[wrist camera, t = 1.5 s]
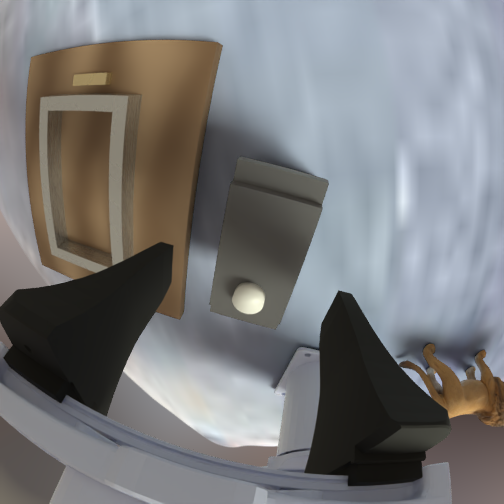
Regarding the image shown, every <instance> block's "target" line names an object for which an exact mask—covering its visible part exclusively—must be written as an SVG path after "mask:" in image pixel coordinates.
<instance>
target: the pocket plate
mask: <svg viewBox="0 0 504 504" xmlns="http://www.w3.org/2000/svg"><path fill="white" fill-rule="evenodd" d="M222 47H223V45H221V44H219V43H218V42H206V41H190V40H139V41H123V42H112V43H102V44H94V45H87V46H81V47H75V48H69V49H64V50H59V51H54V52H50V53H46V54H42V55H38V56H34V57H31V62H30V69H29V77H28V87H27V101H26V163H27V177H28V187H29V196H30V204H31V211H32V217H33V223H34V229H35V234H36V239H37V244H38V249H39V253H40V257H41V262H42V265H44V266H46V267H48V268H50V269H53V270H55V271H57V272H59V273H61V274H63V275H66V276H68V277H70V278H72V279H79V278H82V277H85V276H88V275H91V274H94V273H97V272H99V271H102V270H104V269H106V268H109V267H111V266H113V265H115V264H117V263H119V262H121V261H124V260H126V259H128V258H130V257H132V256H134V255H135V254H137V253H139V252H141V251H143V250H145V249H147V248H149V247H151V246H153V245H155V244H157V243H159V242H164V243H167V244H171V245H174V247H173V264H172V283H171V285H170V287H169V289H168V291H167V293H166V295H165V297H164V299H163V301H162V303H161V304H160V306H159V307H158V309H157V310H156V312H158V313H161V314H164V315H167V316H170V317H173V318H176V319H179V320H180V318H181V316H182V314H183V312H184V301H185V288H186V276H187V265H188V255H189V245H190V236H191V227H192V218H193V210H194V202H195V195H196V187H197V180H198V173H199V167H200V160H201V154H202V148H203V142H204V136H205V130H206V124H207V119H208V113H209V108H210V103H211V98H212V92H213V88H214V83H215V78H216V73H217V69H218V64H219V60H220V55H221V51H222Z"/></svg>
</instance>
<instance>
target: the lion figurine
mask: <svg viewBox="0 0 504 504" xmlns="http://www.w3.org/2000/svg"><path fill="white" fill-rule="evenodd" d="M434 353H435V346H434V344H428V345H426V347H425V348H424V349H423V356H424V358H425V359H426V361H427V363H428V365H429V366H430V367H429V368H428V369H427V371H426V372H427V375H426V374H425V372H424V371H423V370H422V369H421V368H420V367H419V366H417V365H415V364H414V363H412V362H410V361H403V362H401V363H400V364H399V366H400V367H403V368H409V369H413V370H415V371H416V372H417V373H418V374H419V375H420V376H421V378H422V380H423V381H424V383H425V385H426V387H427V389H428V390H429V393H430V395H431V397H432V399H433V400H435V401H436V402H437V403H439V404H440V405H441V406H443V407H444V408H445V409H447V411H448V415H449V418H452V417H455V416H458V415H462V414H475V415H477V416H478V418H479V420H480V421H482V422H483V423H485V424H487V425H491V426H496V427H504V382H502V381H501V379H500V378H499V377H493V375H492V373H491V371H490V369H489V367H488V366H487V365H486V364H485V362H484V361H483V358H484V357H485V355H486V352H485V350H482V351H480V352H479V353H478V354H477V355H476V356H475V362H476V364H477V366H478V367H479V369H480V372H481V380H480V381H479V380H476V378H475V367H470V368H468V369H467V370H466V376H467V379H468V380H463V381H461V382H460V381H459V379H458V377H457V376H456V375H455V373H454V372H453V371H452V370H451V368H449V367H448V366H447V365H445V364H444V363H442V362H441V361H439V360H438V359H437V358H436V357H434V356H433V354H434ZM436 372H437V373H438V375H439V376H440V378H441V380H442V387H441V385H440V384H439V383H438V382H437V380H436V378H435V375H434V374H435V373H436Z"/></svg>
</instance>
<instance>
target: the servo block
mask: <svg viewBox="0 0 504 504" xmlns="http://www.w3.org/2000/svg"><path fill="white" fill-rule="evenodd" d="M328 185H329V183H328V180H326V179H323V178H320V177H317V176H313V175H310V174H306V173H303V172H299V171H296V170H292V169H289V168H285V167H281V166H278V165H274V164H270V163H266V162H262V161H258V160H254V159H250V158H246V157H241V156H240V157H239V158H238V159H237V164H236V169H235V174H234V179H233V181H232V182H231V184H230V188H229V194H228V199H227V204H226V210H225V215H224V221H223V226H222V232H221V238H220V243H219V249H218V255H217V261H216V267H215V273H214V279H213V285H212V292H211V298H210V304H209V305H211V308H210V311H211V312H214V313H218V314H221V315H224V316H228V317H231V318H235V319H238V320H242V321H245V322H249V323H253V324H256V325H260V326H264V327H268V328H272V329H275V330H276V328H277V325H278V324H280V322H281V319H282V317H283V314H284V312H285V309H286V307H287V304H288V302H289V299H290V297H291V294H292V292H293V289H294V286H295V284H296V281H297V278H298V276H299V273H300V271H301V268H302V265H303V262H304V260H305V257H306V254H307V252H308V249H309V246H310V243H311V240H312V238H313V235H314V232H315V229H316V226H317V223H318V221H319V218H320V215H321V212H322V203H323V200H324V197H325V194H326V191H327V188H328Z"/></svg>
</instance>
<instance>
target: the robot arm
mask: <svg viewBox="0 0 504 504" xmlns="http://www.w3.org/2000/svg"><path fill="white" fill-rule="evenodd" d="M173 247H174V245H171V244H167V243H164V242H159V243H157V244H155V245H153V246H151V247H149V248H147V249H145V250H143V251H141V252H139V253H137V254H135V255H134V256H132V257H130V258H128V259H126V260H124V261H121V262H119V263H117V264H115V265H113V266H111V267H109V268H106V269H104V270H102V271H99V272H97V273H94V274H91V275H88V276H85V277H82V278H79V279H75V280H72V281H68V282H65V283H61V284H56V285H51V286H45V287H39V288H30V289H19V290H16V291H15V292H14V293H13V294H12V295H11V296H10V297H9V298H8V299H7V301H5V302H4V304H3V305H2V306H1V307H0V322H1V324H2V326H3V328H4V330H5V332H6V334H7V335H8V337H9V339H10V341H11V343H12V344H13V346H12V347H11V348H10V349H8V348H7V347H6V346H5V345H4V344H3V343H2V342H1V341H0V416H1V417H2V418H4V419H5V420H6V421H7V422H8V423H9V424H10V425H12V426H13V427H14V428H15V429H16V430H17V431H19V432H20V433H21V434H22V435H24V436H25V437H26V438H27V439H29V440H30V441H32V442H33V443H34V444H35V445H37V446H38V447H39V448H41V449H42V450H44V451H45V452H46V453H48V454H49V455H51V456H52V457H54V458H55V459H57V460H58V461H60V462H61V463H63V464H64V465H66V468H65V470H64V472H63V474H62V476H61V478H60V481H59V483H58V485H57V487H56V490H55V492H54V494H53V496H52V499H51V501H50V503H49V504H452V498H451V497H452V496H451V482H450V471H449V463H447V462H445V463H439V464H432V465H428V466H424V467H422V463H421V461H424V460H425V458H426V454H425V451H427V450H428V449H430V448H432V447H433V446H435V445H436V444H438V443H439V442H441V441H442V440H443V439H445V438H446V437H447V436H448V435H449V433H450V431H451V425H450V420H449V415H448V411H447V409H445V408H444V407H443V406H441V405H440V404H439V403H437V402H436V401H435V400H433V399H432V398H431V397H430V396H429V395H427V394H426V393H425V392H424V391H423V390H422V389H421V388H420V387H419V386H418V385H417V384H416V383H415V382H413V380H412V379H411V378H410V377H409V376H408V375H407V374H406V373H405V372H404V371H403V370H402V369H401V367H400V366H399V365H398V364H397V363H396V361H395V360H394V359H393V358H392V356H391V355H390V354H389V352H388V351H387V350H386V348H385V347H384V345H383V344H382V342H381V341H380V339H379V338H378V336H377V335H376V333H375V332H374V330H373V329H372V327H371V325H370V324H369V322H368V320H367V319H366V317H365V315H364V314H363V312H362V310H361V309H360V307H359V305H358V303H357V302H356V300H355V298H354V297H353V295H352V294H350V293H346V292H342V291H338V293H337V295H336V297H335V299H334V301H333V303H332V305H331V307H330V308H329V310H328V312H327V314H326V316H325V318H324V320H323V322H322V324H321V333H320V343H319V350H314V349H309V348H305V347H300V348H298V349H297V350H296V352H295V354H294V356H293V358H292V360H291V362H290V363H289V365H288V367H287V369H286V371H285V372H284V374H283V376H282V378H281V380H280V381H279V383H278V385H277V387H276V388H275V392H274V393H275V394H276V395H280V396H284V397H285V401H284V408H283V415H282V423H281V429H280V436H279V443H278V449H277V455H276V457H269V459H268V465H267V466H263V467H257V466H252V465H247V464H242V463H237V462H233V461H228V460H224V459H220V458H216V457H213V456H209V455H205V454H202V453H198V452H195V451H192V450H188V449H185V448H182V447H179V446H176V445H173V444H170V443H167V442H165V441H162V440H159V439H156V438H154V437H152V436H149V435H146V434H144V433H142V432H139V431H137V430H134V429H132V428H130V427H128V426H125V425H123V424H121V423H119V422H116V421H114V420H112V419H110V418H108V417H107V413H108V410H109V407H110V404H111V401H112V398H113V395H114V392H115V389H116V387H117V384H118V382H119V379H120V376H121V374H122V372H123V369H124V367H125V365H126V362H127V360H128V358H129V356H130V354H131V352H132V350H133V347H134V345H135V343H136V342H137V340H138V338H139V336H140V335H141V333H142V332H143V330H144V329H145V327H146V326H147V324H148V322H149V321H150V319H151V318H152V316H153V315H154V313H155V312H156V310H157V309H158V307H159V306H160V304H161V303H162V301H163V299H164V297H165V295H166V293H167V291H168V289H169V287H170V285H171V283H172V264H173ZM307 353H309V354H307ZM115 443H116V444H118V445H120V446H119V447H117V446H116V444H115Z"/></svg>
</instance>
